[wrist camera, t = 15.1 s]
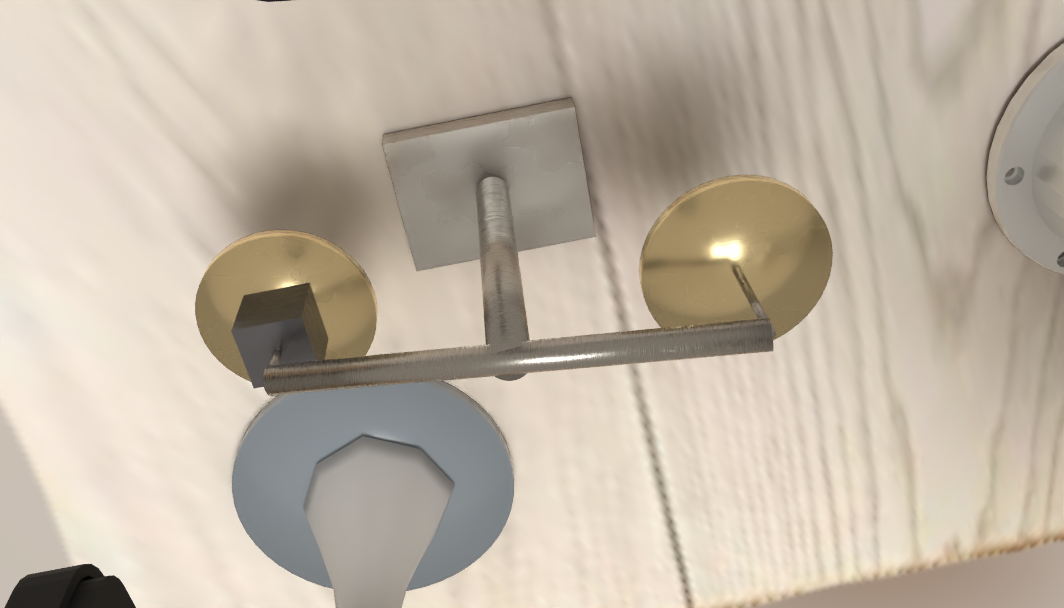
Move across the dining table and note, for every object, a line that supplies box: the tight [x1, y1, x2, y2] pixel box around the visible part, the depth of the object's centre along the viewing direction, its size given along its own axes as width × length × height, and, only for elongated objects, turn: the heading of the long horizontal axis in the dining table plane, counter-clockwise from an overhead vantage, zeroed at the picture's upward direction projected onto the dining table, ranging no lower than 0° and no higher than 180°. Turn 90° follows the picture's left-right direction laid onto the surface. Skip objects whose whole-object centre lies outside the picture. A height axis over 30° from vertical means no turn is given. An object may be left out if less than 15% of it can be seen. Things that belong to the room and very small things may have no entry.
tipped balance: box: [195, 98, 833, 396], centre depth 36 cm, size 22×6×16 cm, turn 100°
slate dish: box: [232, 381, 514, 591], centre depth 51 cm, size 14×14×1 cm
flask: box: [303, 436, 455, 608], centre depth 46 cm, size 7×7×10 cm
